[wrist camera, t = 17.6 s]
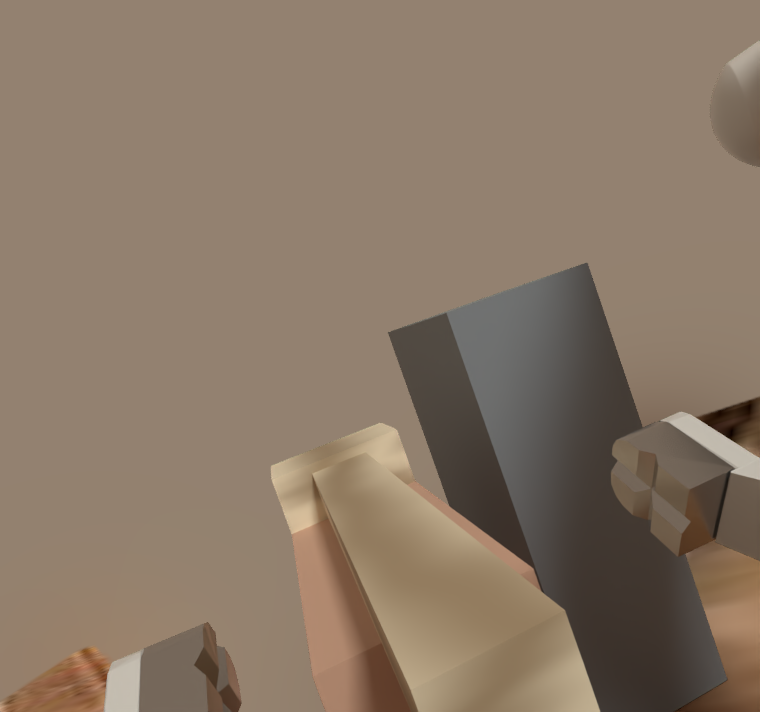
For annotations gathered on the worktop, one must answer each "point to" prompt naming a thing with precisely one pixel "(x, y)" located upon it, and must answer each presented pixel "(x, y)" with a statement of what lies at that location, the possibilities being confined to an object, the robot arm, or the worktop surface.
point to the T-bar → (434, 586)
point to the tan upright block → (358, 618)
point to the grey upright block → (560, 479)
